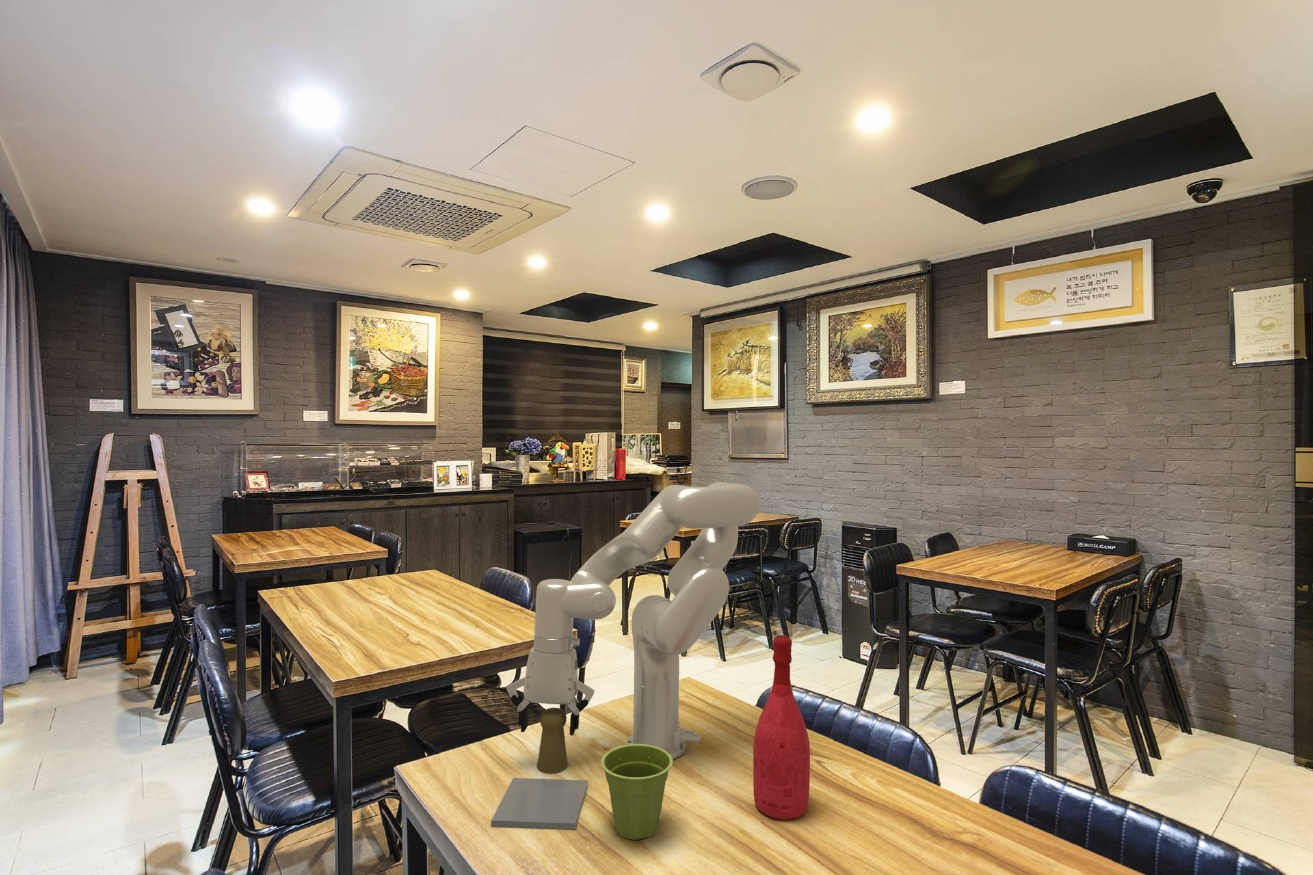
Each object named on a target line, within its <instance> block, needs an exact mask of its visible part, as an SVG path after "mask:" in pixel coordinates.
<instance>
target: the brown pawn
mask: <svg viewBox="0 0 1313 875" xmlns="http://www.w3.org/2000/svg"><path fill="white" fill-rule="evenodd" d="M566 713H567V712H565V710H564V709H562V708H560V707H548V708H546V709H544V710H543V711H542V712H541V714H540V716H539V722H540V726H541V728H542V729H541V735H540V737H541V738H540V744H539V751H538V757H537V758H538V759H537V765H536V768H537V771H538V772H540V773H542V774H548V775H549V774H551V775H552V774H553V775H554V774H558V773H559V774H560V773H562V772H563V771H566V769H568V767H569V764H568V754H567V746H566V744H567V743H566V736H565V728H564V727H565V725H566V723H567V714H566Z"/></svg>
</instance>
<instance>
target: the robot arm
mask: <svg viewBox="0 0 1313 875" xmlns="http://www.w3.org/2000/svg"><path fill="white" fill-rule="evenodd" d="M760 507H761V500H760V497H759V496H758V494H757V492H756V491H755V490H754V488H752V487H750V486H749V485H746V484H742V483H741V484H740V483H732V482H725V481H720V482H719V481H718V482H713V483H711V484H709V485H708V486H690V485H689V486H688V485H684V484H683V485H681V484H672V485H668V486H666V487H665V488H663V489H662V490H661V491H660V492H659V493H658V494H657V495H656V496H655V498H654V499H653V500H652V501H650V503H649V504H648V505H647V506H646V507H645V508H644V510H642V512H641V513H640V514H639V515H638V516H637V517H636V518H635V519H634V520H633V522H631V523H630V525H629V526H628V527H627V528H626V529H625V530H624V531H623V532H622V533H620V534H619V535H617V536H615V537H614V538H613V539H612V540H610V541H609V542H608V543H606V544H605V545H604V546H602V547H601V548H599V549H598V550H597V551H596V552H595V553H594V554H593V555H592V556H590V558H588V560H587V561H585V562H584V564H583V565H582V566H581V567H580V568H579V569H578V570H577V572H575V574H574V575H573V576H572V578H571V579H570V580H566V579H560V578H548V579H544V580H542V581H540V582H539V583H538V585H537V586H536V595H535V616H534V630H533V631H534V634H533V646H532V647H531V648H530V650H529V654H528V657H527V658H528V659H527V662H526V668H525V669H526V670H525V677H522V678H520V679H518V680H515V681H513V682H511V683H509V684H508V685H507V686H506V691H507V693H508V695H509V696H508V697H510V701H511V703H513V705H514V706H515V707H516V710H517V711H518V727H520V733H525V732H526V730H527V729H528V726H529V713H530V712H529V711H530V707H529V706H528V705H529V704H530V703H534V704H549V705H565V706H566V705H567V706H568V708H569V709H570V710H571V713H570V720H569V735H570V736H574V735H575V732H576V730H579V727H580V713H581V712H582V711H584V709H585V708H587V707H588V705H589V703H590V701H591V700H592V698H593V697H594V694H595V689H593V688H592V687H590V686H588V685H586V684H585V683H583V682H582V681H580V680H579V679H578V678H579V677H578V676H579V675H578V673H579V671H578V658H577V657H578V656H577V655H578V654H577V650H576V649H575V648H574V647H579V646H580V638H577V637H575V636H574V633H573V630H574V619H582V620H590V621H591V620H593V621H596V620H602V619H605V618H607V617H608V616H610V615H611V614H612V612H614V609H615V607H616V603H617V599H616V595H615V592H614V590H613V588H611V587H610V585H611V584H612V583H613V582H614V581H615V579H617V578H618V577H620V575H622V574H623V573H624V572H627V570H631V568H635V567H638V566H641V565H644V564H648V563H649V562H651V561H653V560H654V559H656V558H657V556H659V555H660V554H661V552H662V551H663V550H664V549H665V548H666V547H667V545H668V544H669V543H670V542H671V540H672V539H673V538H674V537H675V536H676V535H677V534H678V533H679V531H681V529H682V528H685V529H690V530H691V529H693V530H695V529H700V532H699V533H698V536H697V537H696V538H695V540H694V541H693V543H692V544H691V545H690V546H689V548H687V550H686V551H685V553H684V554H683V555H682V556H681V557H680V558H679V560H678V561H677V562H676V563H675V564H674V566H673V567H672V568H671V569H670V571H669V573H668V576H667V586H668V589H669V591H670V593H671V594H672V595H673V596H674V597H673V599H672V600H671V599H669V598H667V597H664V596H662V595H658V594H655V595H654V594H651V595H647V596H644V597H643V598H642V599H640V600H639V601H638V602H637V603H636V605H635V606H634V608H633V611H632V614H631V622H630V624H631V634H632V644H633V658H634V661H633V662H634V663H633V667H634V668H633V713H632V714H633V715H632V716H633V720H632V721H633V725H632V726H633V728H632V729H633V731H632V732H633V734H631V735H629V737H627V738H626V740H625V745H630V744H646V745H652V746H656V747H659V748H661V749H663V750H665V751H667V752H668V753H669V754H670V755H671V757H672V759H673V760H675V759H677V758H678V757H681V756H682V755H683V754H684V753H685V751H686V745H687V744H686V743H691V744H701V733H700V732H698V733H697V732H695V729H692V728H691V729H690V728H689V729H684V728H683V727H681V721H680V720H679V718H680V717H679V715H680V712H679V710H680V705H679V704H680V656H679V655H681V654H683V653H686V652H687V651H688V650H689V649H690V648H691V647H692V646H694V644H695V643H696V642H698V640H699V638H700V637H701V635H703V633H704V632H705V631H706V630H707V629H708V627H709V625H710V624H711V623H712V621H713V620H714V619H715V618H716V617H717V616H718V614H719V612H721V610H722V609H723V607H724V606H725V605H726V602H727V598H728V597H729V592H730V584H729V583H730V582H729V579H728V576H727V574H726V573H725V571H724V570H723V569H724V568H725V567H726V566H727V564H728V562H729V561H730V559H731V558H732V556H733V555H734V553H735V551H736V549H737V546H738V539H739V526H744V525H747V524H749V523H751V522H752V521H753V520H755V518H756V517H757V516H758V514H759V512H760ZM521 687H523V698H522V697H521V696H520V695H519V693H518V692H517V690H518V689H520V688H521ZM578 691H579V692H580V693H582V694H584V695H585V696H584V697H583V699H582V700H580V701H579V700H578V698H576V697H577V695H578Z"/></svg>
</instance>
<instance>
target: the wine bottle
mask: <svg viewBox="0 0 1313 875" xmlns="http://www.w3.org/2000/svg"><path fill="white" fill-rule="evenodd" d="M772 643H773V644H772V645H773V655H772V661H773V662H774V672H773V681H772V687H771V691H770V694H769V696H768V699H767V701H766V703H765V705H764V707H763V709H762V711H761V713H760V716H759V719H758V721H757V724H756V727H755V732H754V735H753V736H754V738H753V746H752V747H753V751H752V752H753V754H752V757H753V758H752V759H753V760H752V761H753V762H752V766H753V767H752V768H753V769H752V771H753V772H752V775H753V776H752V778H753V780H752V781H753V800H754V804H755V806H756V808H757V809H758V810H759V811H760V812H762V814H764V815H765V816H768V817H771V818H774V819H779V820H792V819H793V820H794V819H797V818H800V817H801V816H803V815H805V813H806V812H807V810H808V809H809V808H808V807H809V800H810V784H811V782H810V777H811V774H810V773H811V745H810V738H809V735H808V730H807V726H806V722H805V721H804V720H805V719H804V718H803V715H802V713H801V710H800V707H799V706H798V703H797V701H796V698H795V696H794V692H793V691H794V690H793V687H792V682H791V663H792V660H793V658H792V657H793V656H792V645H793V640H792V638H791V637H790V636H788V635H785V634H779V635H775V636H774V637H773V640H772Z"/></svg>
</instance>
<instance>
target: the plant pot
mask: <svg viewBox="0 0 1313 875" xmlns="http://www.w3.org/2000/svg"><path fill="white" fill-rule="evenodd" d="M600 760H601V761H600V764H601V767H602V769H603V771H604V773H605V778H606V782H607V784H608V790H609V791H608V792H609V797H610V803H611V810H612V815H613V823H614V828H615V831H616V832H617V834H618V835H619V837H620V836H621V837H623V838H625V839H627V840H632V841H638V840H641V839H643V838H648V839H649V838H651V837H653V836H654V835H656V833H657V831H659V827H660V826H659V825H660V820H661V815H662V807H663V801H664V795H665V794H664V793H665V787H666V782H667V780H668V777H669V776H668V774H669V771H670V769H671V768H672V765H673V762H674V761H673V760H674V759H672V757H671V755H670V754H669V753H668V752H667V751H665V750H663V749H661V748H659V747H656V746H652V745H646V744H630V745H626V744H623V745H620V746H616V747H614V748H612V749H610V750H608V751H607V752H606V753H604V755H603V756H602V757H601V759H600Z"/></svg>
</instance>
